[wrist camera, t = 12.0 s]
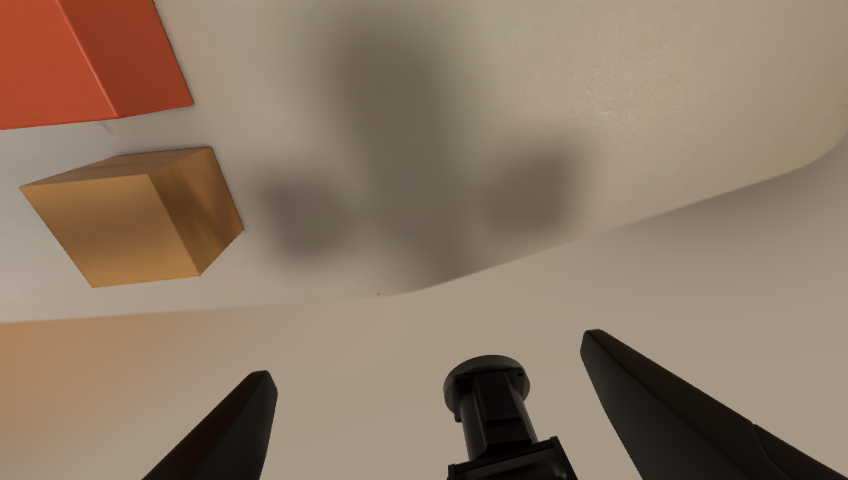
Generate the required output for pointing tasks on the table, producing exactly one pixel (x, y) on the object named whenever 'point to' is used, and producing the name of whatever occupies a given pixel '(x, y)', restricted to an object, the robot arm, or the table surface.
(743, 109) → the table surface
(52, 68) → the terracotta block
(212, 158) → the beech block
